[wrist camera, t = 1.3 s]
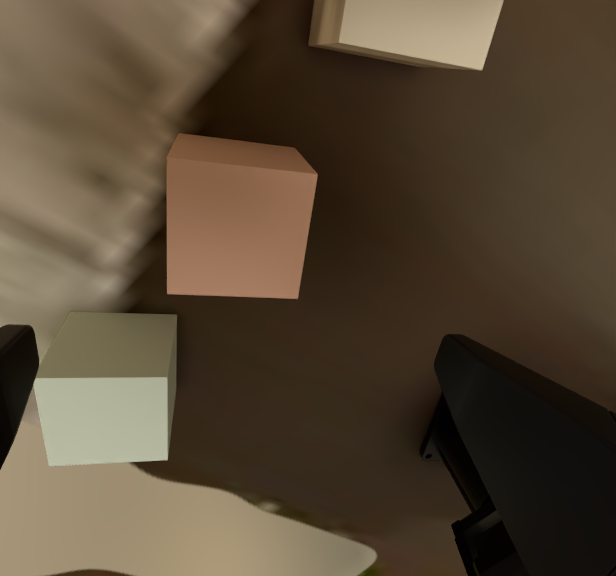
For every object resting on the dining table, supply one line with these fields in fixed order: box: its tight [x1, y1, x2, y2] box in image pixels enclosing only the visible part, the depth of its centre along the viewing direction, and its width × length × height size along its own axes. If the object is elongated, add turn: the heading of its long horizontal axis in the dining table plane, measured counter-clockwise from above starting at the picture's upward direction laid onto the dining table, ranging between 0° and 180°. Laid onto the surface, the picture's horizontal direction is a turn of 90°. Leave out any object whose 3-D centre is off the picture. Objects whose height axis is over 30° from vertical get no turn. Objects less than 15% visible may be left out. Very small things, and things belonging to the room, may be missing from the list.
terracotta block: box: [167, 133, 318, 299], centre depth 17 cm, size 5×5×5 cm
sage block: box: [33, 312, 177, 466], centre depth 20 cm, size 5×5×5 cm
